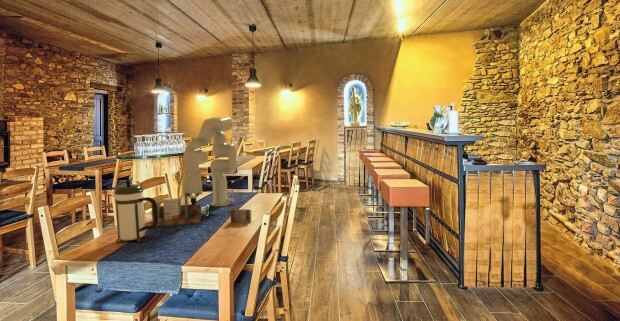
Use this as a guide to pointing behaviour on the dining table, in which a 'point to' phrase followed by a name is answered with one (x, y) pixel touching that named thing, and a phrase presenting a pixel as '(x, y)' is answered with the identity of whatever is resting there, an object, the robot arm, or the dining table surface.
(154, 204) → the coffee press
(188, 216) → the bookend
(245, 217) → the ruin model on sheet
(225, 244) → the dining table surface
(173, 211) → the ink box
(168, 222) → the walnut shelf
